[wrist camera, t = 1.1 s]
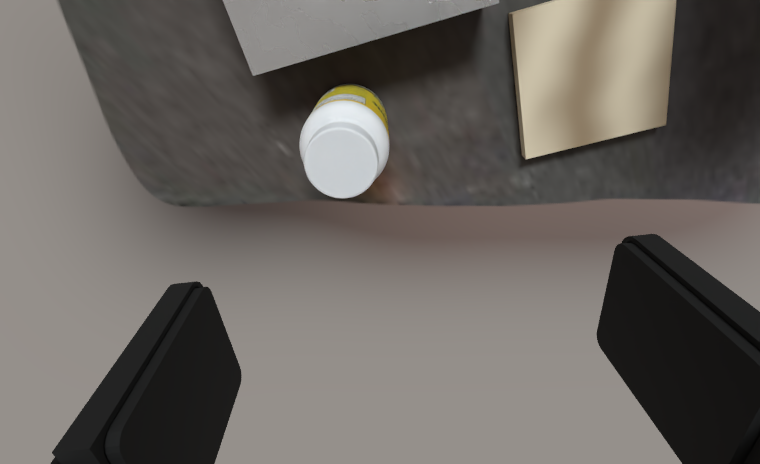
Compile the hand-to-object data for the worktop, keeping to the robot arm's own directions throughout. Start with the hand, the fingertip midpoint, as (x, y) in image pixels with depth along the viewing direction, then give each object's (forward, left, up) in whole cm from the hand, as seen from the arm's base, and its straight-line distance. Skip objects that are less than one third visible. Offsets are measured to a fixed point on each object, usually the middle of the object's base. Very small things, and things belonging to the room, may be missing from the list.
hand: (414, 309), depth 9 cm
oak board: (-14, +1, -23) cm, 27 cm away
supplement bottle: (+3, 0, -23) cm, 23 cm away
